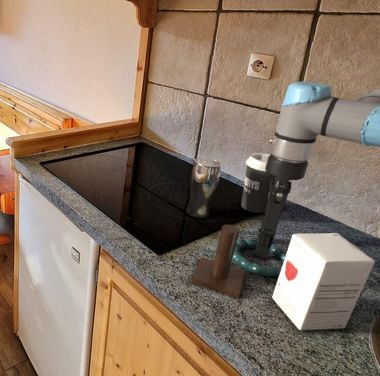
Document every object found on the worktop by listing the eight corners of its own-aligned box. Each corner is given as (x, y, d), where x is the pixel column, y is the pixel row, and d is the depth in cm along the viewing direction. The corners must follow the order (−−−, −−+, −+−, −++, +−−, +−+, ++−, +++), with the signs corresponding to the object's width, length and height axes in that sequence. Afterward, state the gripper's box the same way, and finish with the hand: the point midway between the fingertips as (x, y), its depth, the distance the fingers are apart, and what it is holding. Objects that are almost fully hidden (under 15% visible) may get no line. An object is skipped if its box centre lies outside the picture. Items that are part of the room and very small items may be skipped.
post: (244, 274, 86) (258, 225, 81) (238, 298, 79) (253, 246, 74) (200, 261, 90) (211, 213, 85) (191, 283, 83) (202, 232, 78)
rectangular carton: (269, 297, 80) (290, 232, 74) (312, 296, 81) (337, 231, 74) (298, 331, 72) (325, 261, 65) (346, 329, 72) (377, 260, 66)
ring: (293, 255, 93) (296, 248, 93) (292, 286, 83) (294, 278, 82) (233, 239, 99) (235, 232, 98) (224, 266, 89) (226, 258, 88)
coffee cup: (244, 197, 121) (257, 149, 115) (278, 208, 115) (292, 159, 108) (229, 206, 115) (240, 156, 109) (262, 219, 109) (277, 167, 103)
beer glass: (178, 209, 113) (188, 159, 106) (197, 204, 116) (207, 155, 109) (197, 221, 107) (208, 168, 101) (216, 215, 110) (228, 164, 104)
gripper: (272, 141, 95) (249, 225, 105) (265, 168, 80) (239, 264, 89) (308, 147, 92) (282, 233, 102) (309, 176, 76) (277, 275, 86)
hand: (262, 248), depth 95 cm, fingers open, 7 cm apart
